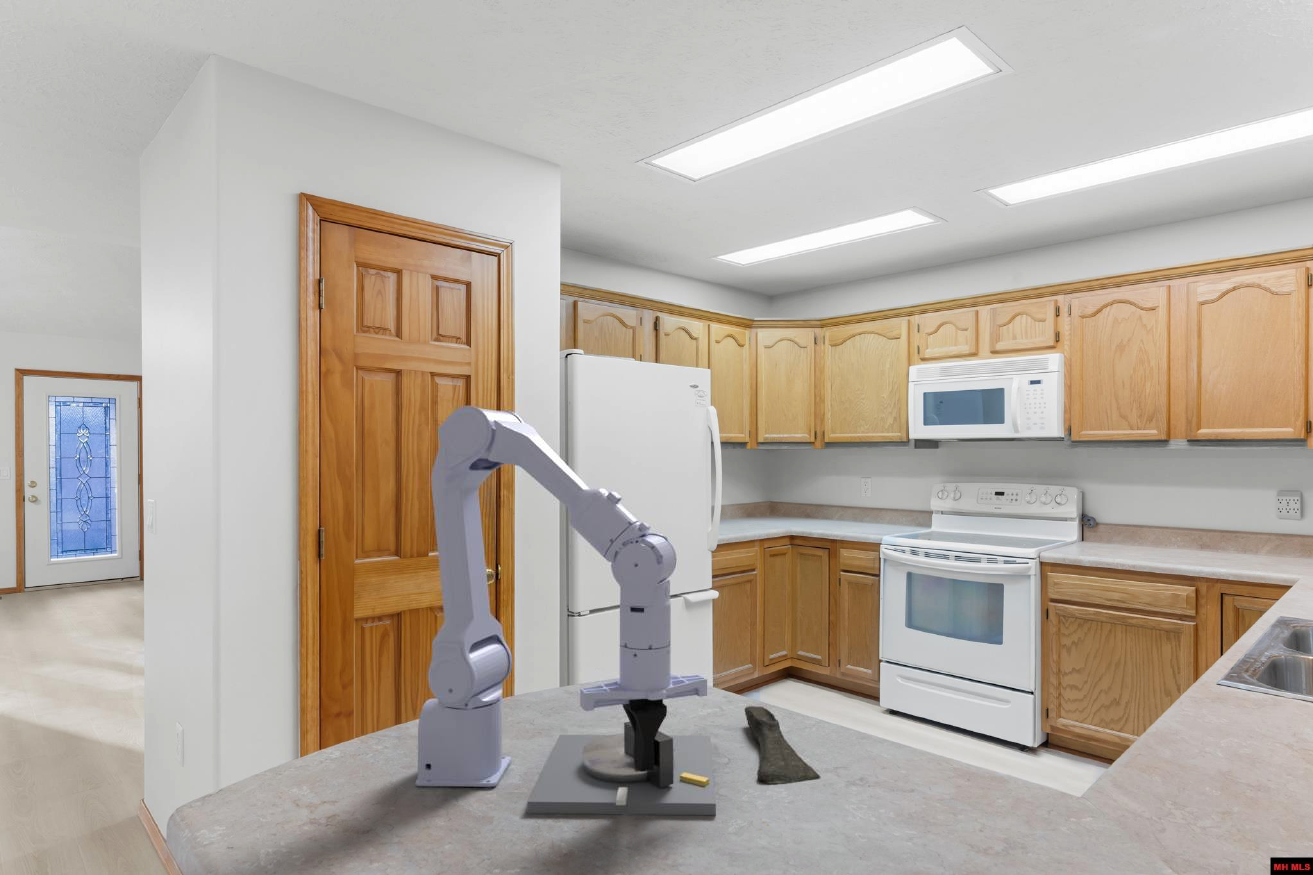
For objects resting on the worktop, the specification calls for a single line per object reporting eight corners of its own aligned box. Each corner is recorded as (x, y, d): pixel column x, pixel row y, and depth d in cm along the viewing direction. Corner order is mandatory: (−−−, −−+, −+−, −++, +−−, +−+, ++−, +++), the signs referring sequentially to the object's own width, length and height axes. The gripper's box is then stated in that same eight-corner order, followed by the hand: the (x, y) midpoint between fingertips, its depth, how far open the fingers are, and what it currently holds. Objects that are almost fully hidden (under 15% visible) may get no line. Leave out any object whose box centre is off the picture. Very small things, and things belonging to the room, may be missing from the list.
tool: (823, 795, 87) (825, 769, 87) (759, 793, 86) (761, 767, 86) (774, 718, 108) (777, 697, 108) (722, 715, 107) (724, 694, 107)
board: (526, 815, 79) (526, 799, 79) (559, 743, 99) (559, 730, 99) (716, 817, 78) (715, 801, 78) (710, 744, 99) (710, 731, 99)
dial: (566, 758, 91) (566, 716, 91) (642, 739, 97) (642, 700, 97) (624, 798, 79) (623, 750, 80) (706, 774, 86) (705, 729, 86)
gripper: (593, 658, 77) (593, 792, 76) (719, 645, 83) (719, 770, 82) (574, 643, 84) (574, 766, 83) (692, 632, 89) (692, 748, 88)
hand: (645, 767), depth 83 cm, fingers closed, pressing on dial
